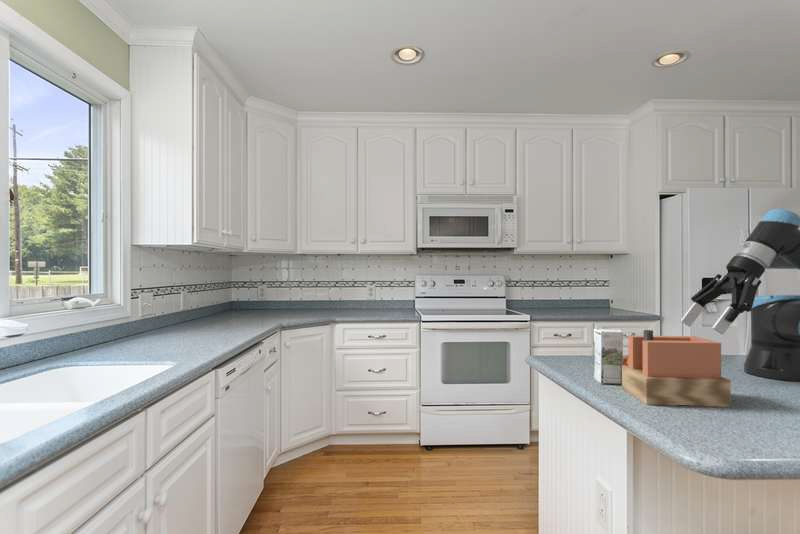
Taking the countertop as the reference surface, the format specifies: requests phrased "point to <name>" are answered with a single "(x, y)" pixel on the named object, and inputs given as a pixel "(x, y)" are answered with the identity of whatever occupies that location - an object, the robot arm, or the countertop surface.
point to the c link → (675, 356)
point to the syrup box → (608, 355)
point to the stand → (675, 388)
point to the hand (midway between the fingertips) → (700, 327)
